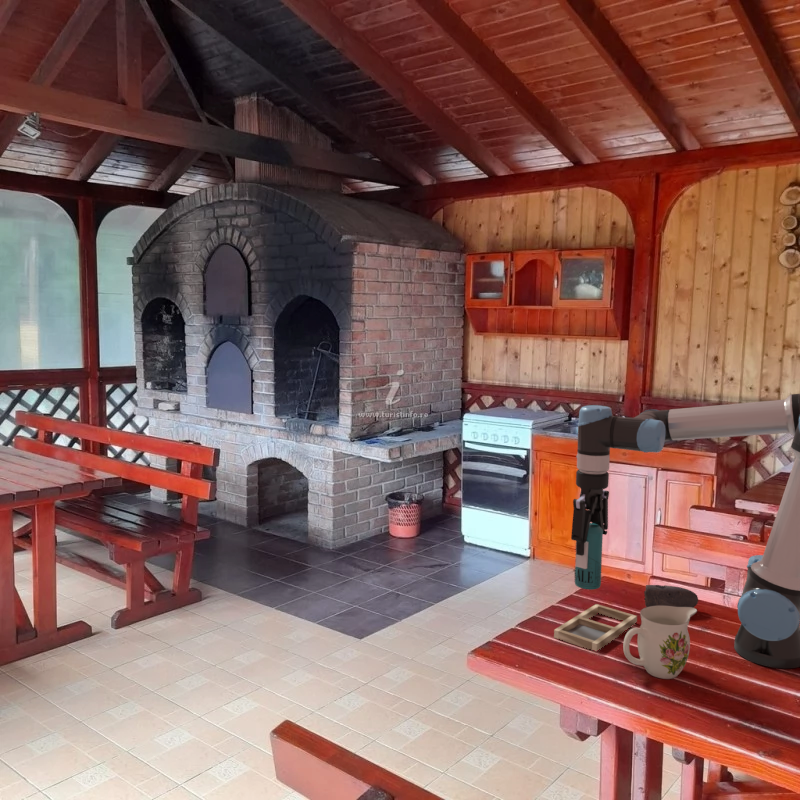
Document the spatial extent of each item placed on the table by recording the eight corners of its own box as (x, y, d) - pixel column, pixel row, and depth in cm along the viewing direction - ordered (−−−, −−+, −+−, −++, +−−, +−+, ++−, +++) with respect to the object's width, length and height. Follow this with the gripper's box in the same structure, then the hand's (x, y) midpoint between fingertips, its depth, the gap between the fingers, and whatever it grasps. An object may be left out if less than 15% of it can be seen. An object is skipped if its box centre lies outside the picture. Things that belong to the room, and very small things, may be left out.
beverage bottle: (598, 586, 185) (602, 507, 183) (603, 596, 179) (607, 515, 176) (571, 585, 186) (575, 506, 183) (575, 595, 180) (578, 514, 177)
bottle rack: (596, 611, 199) (596, 603, 199) (636, 623, 192) (637, 615, 192) (553, 637, 184) (554, 629, 183) (596, 652, 176) (596, 644, 176)
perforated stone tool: (694, 607, 203) (695, 582, 202) (701, 615, 197) (703, 589, 196) (638, 606, 203) (639, 582, 202) (644, 614, 198) (645, 589, 197)
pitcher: (608, 666, 169) (611, 608, 168) (676, 655, 174) (680, 599, 173) (637, 690, 159) (640, 628, 157) (708, 678, 164) (712, 618, 162)
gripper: (597, 461, 188) (593, 550, 191) (557, 474, 174) (554, 570, 177) (625, 466, 183) (621, 557, 186) (587, 480, 169) (583, 578, 172)
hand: (588, 563), depth 182 cm, fingers closed on beverage bottle, 6 cm apart
